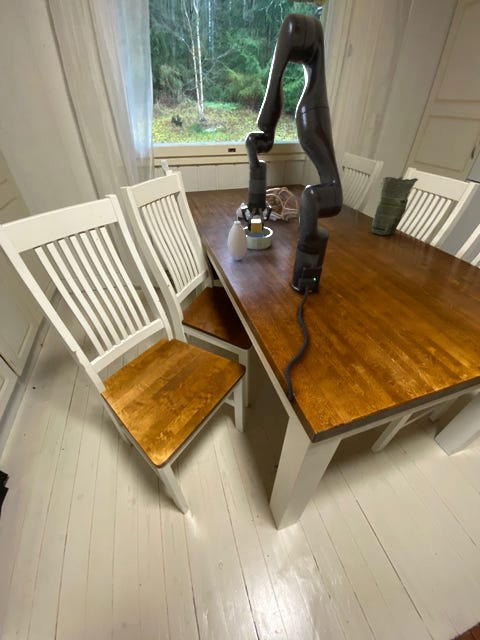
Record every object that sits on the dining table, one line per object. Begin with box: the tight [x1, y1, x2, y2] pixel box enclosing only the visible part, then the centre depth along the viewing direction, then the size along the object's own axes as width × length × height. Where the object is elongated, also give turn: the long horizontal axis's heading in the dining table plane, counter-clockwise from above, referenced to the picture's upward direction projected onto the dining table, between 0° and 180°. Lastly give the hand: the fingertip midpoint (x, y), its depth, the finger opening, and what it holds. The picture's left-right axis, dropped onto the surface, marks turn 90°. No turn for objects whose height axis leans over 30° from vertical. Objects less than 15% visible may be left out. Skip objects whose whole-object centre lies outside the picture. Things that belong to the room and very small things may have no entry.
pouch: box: [370, 176, 419, 236], centre depth 128 cm, size 11×12×25 cm
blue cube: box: [252, 233, 264, 238], centre depth 121 cm, size 5×5×5 cm
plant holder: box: [235, 186, 300, 222], centre depth 147 cm, size 28×35×16 cm
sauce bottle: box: [227, 215, 248, 261], centre depth 106 cm, size 8×8×18 cm
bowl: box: [243, 226, 273, 251], centre depth 123 cm, size 14×14×6 cm
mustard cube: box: [251, 218, 262, 233], centre depth 122 cm, size 5×5×5 cm
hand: (255, 230), depth 123 cm, fingers closed on mustard cube, 4 cm apart
